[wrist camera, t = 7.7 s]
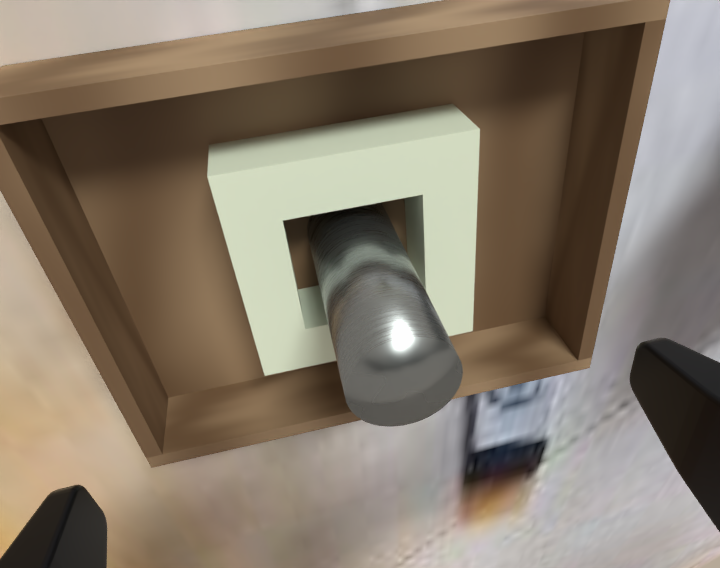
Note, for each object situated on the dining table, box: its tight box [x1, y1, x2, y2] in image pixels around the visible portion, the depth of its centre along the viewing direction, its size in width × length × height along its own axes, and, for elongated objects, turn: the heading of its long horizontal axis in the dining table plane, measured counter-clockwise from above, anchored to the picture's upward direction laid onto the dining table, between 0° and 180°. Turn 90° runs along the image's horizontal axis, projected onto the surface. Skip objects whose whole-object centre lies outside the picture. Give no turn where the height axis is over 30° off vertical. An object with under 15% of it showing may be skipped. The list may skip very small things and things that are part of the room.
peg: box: [307, 203, 463, 426], centre depth 17 cm, size 3×3×8 cm
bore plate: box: [207, 104, 480, 376], centre depth 19 cm, size 8×8×2 cm
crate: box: [0, 0, 670, 468], centre depth 19 cm, size 18×14×4 cm
